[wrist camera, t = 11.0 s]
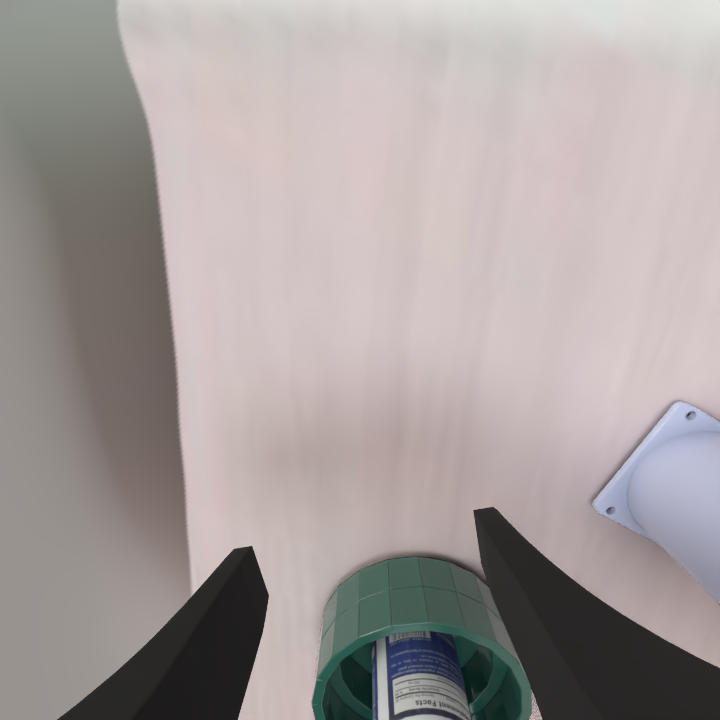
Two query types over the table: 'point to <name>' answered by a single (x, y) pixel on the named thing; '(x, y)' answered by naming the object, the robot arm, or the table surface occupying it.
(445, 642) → the pill bottle
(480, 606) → the bowl
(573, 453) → the table surface
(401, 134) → the table surface
